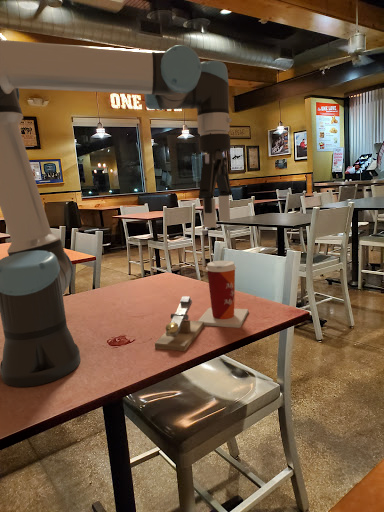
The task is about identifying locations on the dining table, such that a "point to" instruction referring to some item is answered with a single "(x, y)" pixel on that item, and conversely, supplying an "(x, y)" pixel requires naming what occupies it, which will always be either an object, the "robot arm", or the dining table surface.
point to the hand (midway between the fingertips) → (218, 223)
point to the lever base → (180, 336)
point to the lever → (179, 317)
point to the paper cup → (222, 288)
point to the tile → (231, 322)
